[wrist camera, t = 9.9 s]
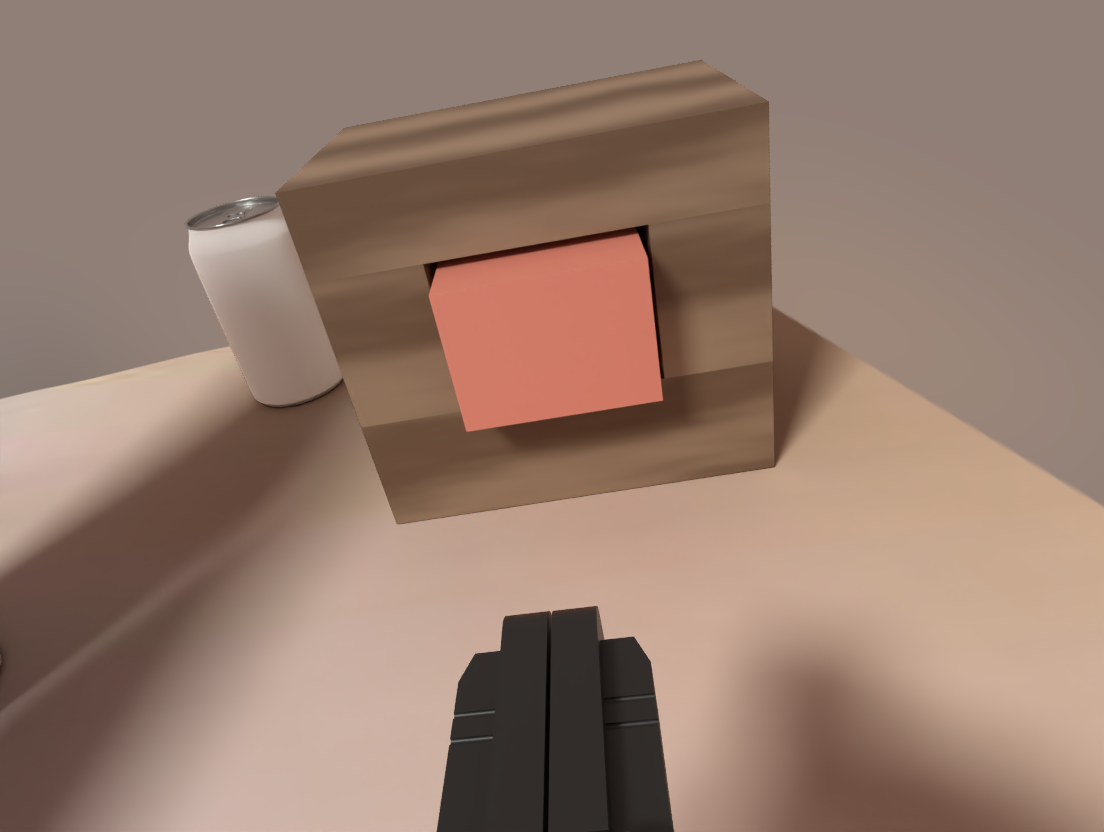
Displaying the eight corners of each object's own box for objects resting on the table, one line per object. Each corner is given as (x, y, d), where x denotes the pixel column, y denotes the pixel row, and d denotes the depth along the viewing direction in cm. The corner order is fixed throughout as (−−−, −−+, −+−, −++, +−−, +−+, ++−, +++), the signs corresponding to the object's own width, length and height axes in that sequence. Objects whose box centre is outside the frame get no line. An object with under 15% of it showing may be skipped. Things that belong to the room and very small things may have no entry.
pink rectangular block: (662, 400, 30) (647, 257, 26) (466, 431, 30) (428, 295, 27) (643, 334, 35) (628, 208, 32) (475, 362, 35) (444, 241, 32)
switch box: (774, 466, 34) (768, 101, 26) (396, 524, 36) (275, 193, 27) (718, 349, 45) (701, 60, 36) (426, 397, 46) (344, 127, 37)
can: (350, 352, 54) (291, 186, 47) (349, 394, 48) (282, 212, 42) (260, 375, 53) (188, 209, 47) (248, 419, 47) (165, 239, 41)
